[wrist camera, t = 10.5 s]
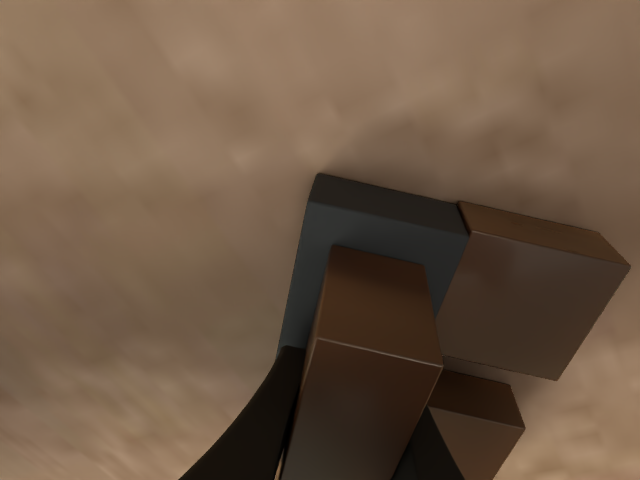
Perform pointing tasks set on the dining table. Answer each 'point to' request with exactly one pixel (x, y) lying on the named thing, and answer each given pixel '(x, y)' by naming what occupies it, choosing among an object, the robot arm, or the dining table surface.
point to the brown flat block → (525, 292)
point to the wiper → (365, 326)
